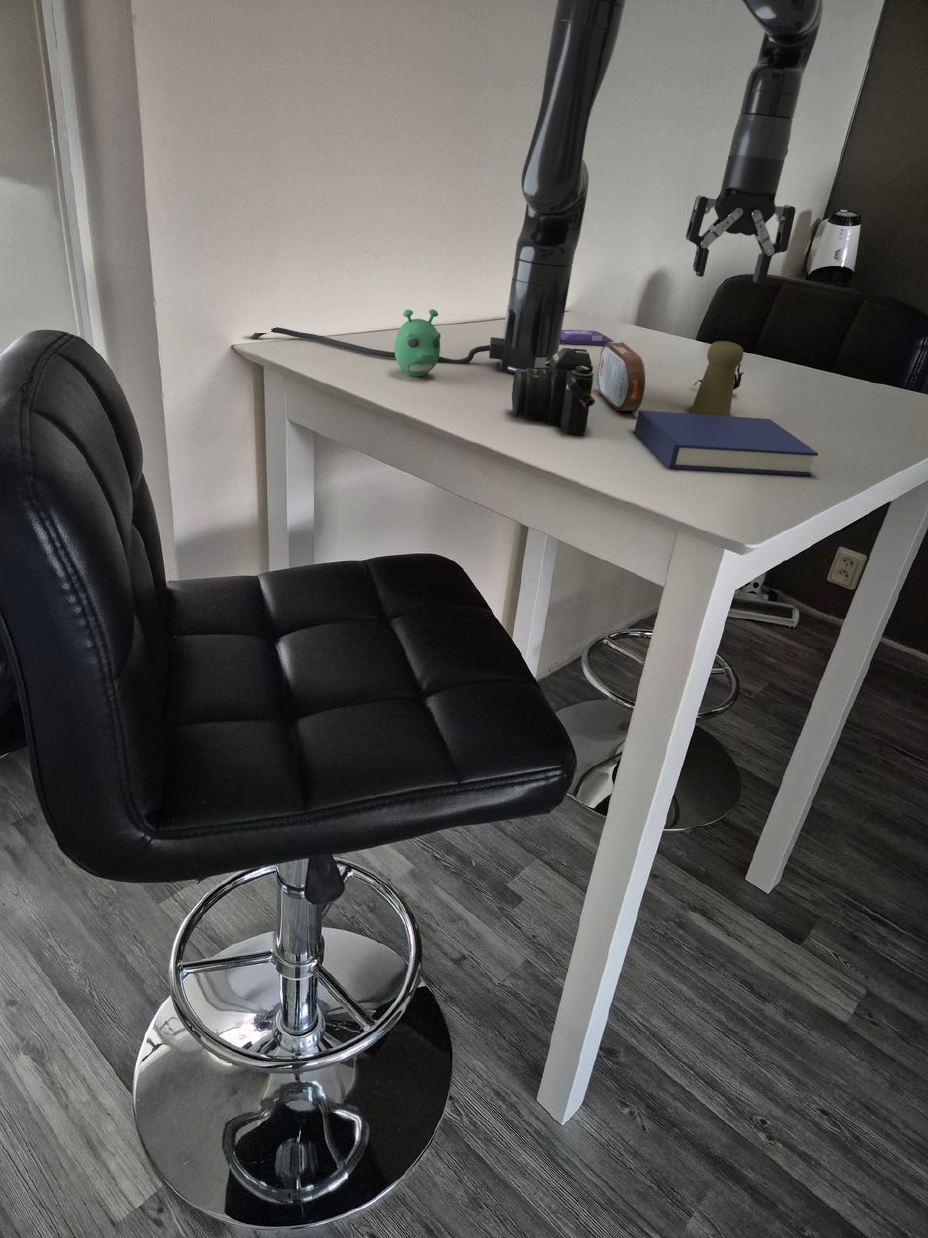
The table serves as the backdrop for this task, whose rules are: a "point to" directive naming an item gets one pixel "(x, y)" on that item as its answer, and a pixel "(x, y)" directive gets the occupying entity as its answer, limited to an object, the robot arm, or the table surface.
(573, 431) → the film camera
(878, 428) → the table surface
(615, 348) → the tin
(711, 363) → the cork
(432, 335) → the alien toy
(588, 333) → the snack package
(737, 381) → the creature
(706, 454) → the book
